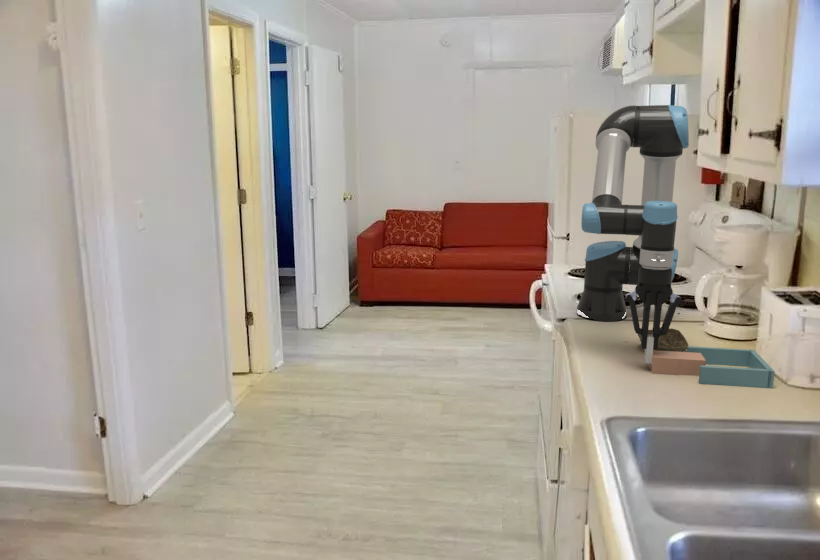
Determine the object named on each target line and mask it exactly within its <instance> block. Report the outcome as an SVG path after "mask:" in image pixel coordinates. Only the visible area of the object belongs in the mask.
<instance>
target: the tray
mask: <svg viewBox="0 0 820 560" xmlns="http://www.w3.org/2000/svg"><path fill="white" fill-rule="evenodd" d="M686 352H693V353H701V354H702V356H703V357H704V359H705V360H706V364H707V365H705V366H702V365H700V372H699V376H698V383H699V384H701V385H716V386H733V387H734V386H735V387H750V388H762V389H763V388H764V389H766V388H767V389H774V382H775V381H774V380H775V370H774V369H773V368H772V366H770V364H768V362H767V361H766V360H765V359H764V358H763V357H761V356H760V355H759V354H758V352H757V351H756V350H755V349H748V348H747V349H744V348H727V347H725V348H724V347H711V346H710V347H708V346H707V347H706V346H691V345H690V346H687V349H686ZM719 365H720V366H719ZM732 366H735V367H732ZM736 366H738V367H736Z"/></svg>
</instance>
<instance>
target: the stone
mask: <svg viewBox="0 0 820 560" xmlns="http://www.w3.org/2000/svg"><path fill="white" fill-rule="evenodd" d="M660 329H661V327H660ZM648 334H649V335H653V329H648ZM637 337H638V338H639V342H640V343H641V335H640V334H637ZM687 346H689V343H688V341H687V339H686V337H685V336H684V334H683V333H682V332H681V331H680V330H678V329H675V328H669V330H668V332H667V334H666V335H662V336H660V337H659V339H658V348H657V350H658V351H676V352H687Z"/></svg>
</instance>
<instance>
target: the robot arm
mask: <svg viewBox="0 0 820 560" xmlns="http://www.w3.org/2000/svg"><path fill="white" fill-rule="evenodd" d="M689 140H690V138H689V119H688V111H687V108H685V107H684V106H682V105H670V104H662V105H661V104H658V105H656V104H655V105H627V106H624V107H620V108H618V109H617V110H614V112H612V113H611V114H610V115H608V116H607V117H606V118H605V119H604V121H603V122H602V123H601V125H600V126H599V127H598V130H597V132H596V136H595V143H594V145H595V148H596V150H597V157H596V166H595V175H594V183H593V191H592V198H591V202H590V203H584V204H583V205H582V210H581V230H582V231H583V232H584V233H589V234H596V235H622V236H624V235H626V236H638V237H637V238H635V239H634V240H633V243H632V246H627V244H626V242H625V241H622V240H608V241H599V242H593V243H591V244H589V245H588V246H587V247H586V253H585V259H584V261H585V266H584V267H585V268H584V269H585V270H584V282H583V292H582V295H581V296H580V299H579V301H578V303H577V306H576V310H577V309H578V310H580V311H581V312H583V313H584V314H585V315H586V316H588V317H589V318H590V319H594V320H593V321H597V320H598V321H599V322H615V321H617V322H619V321H622V320H621V319H622V317H623V316H624V314H625V312H626V309H627V306H626V303H625V299H624V295H623V285H631V286H635V288H634V290H633V291H631V292H626V294H625V298H626V300H627V302H628V303H629V309H630V314H631V319H632V324H633V330H634V332H635V334H637V335H638V334H640V335H641V342H640V346H641V349H642V350H644V358H643V360H644V363H645V364H649V363H650V364H652V356H653V350H657V348H658V339H659V337H660V336H662V335H666V334H667V332H668V330H669V329H670V326H671V324H672V321H673V319H674V315H675V313H676V309H677V307H679V305H680V303H682V301H683V299H682V298H681V296H680V295H677V294H676V293H674V292H673V288H672V282H673V280H674V277H675V272H676V269H677V264H678V263H677V262H678V258H679V251H678V249H677V248H675V240H676V230H677V219H678V218H679V217H678V205H677V203H676V202H674V201H673V197H674V186H675V177H676V165H677V160H678V159H679V158H680V157H682V155H683V152H684V151H683V150H685V149H687V148H689V146H690V145H689V142H690V141H689ZM630 148H639V155H640V156H641V157H642V158H643V159H644V165H643V177H642V178H643V179H642V189H641V190H642V191H641V203H640V204H638V205H637V204H623V194H624V184H625V183H624V182H625V171H626V170H625V169H626V162H627V161H626V160H627V152H628V151H629V150H630ZM637 296H638V298H639V299H640V302H642V304H643V305H642V306H643V307H642V308H643V309H642V321H641V322H642V323H641V327H640V322H639V320H640V319H639V316H638V311H637V310H638V309H637V304H636V302H635V301H637ZM668 299H669V305H668V308H667V311H666V313H665V316H664V318H663V322H662V325H661V318H662V309H663V305H664V303H665V302H667V301H668ZM651 306H654V311H653V323H652V330H653V335H649V334H648V330H650V329H649V326H650V315H651ZM590 319H589V320H590ZM660 328H661V329H660Z"/></svg>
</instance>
